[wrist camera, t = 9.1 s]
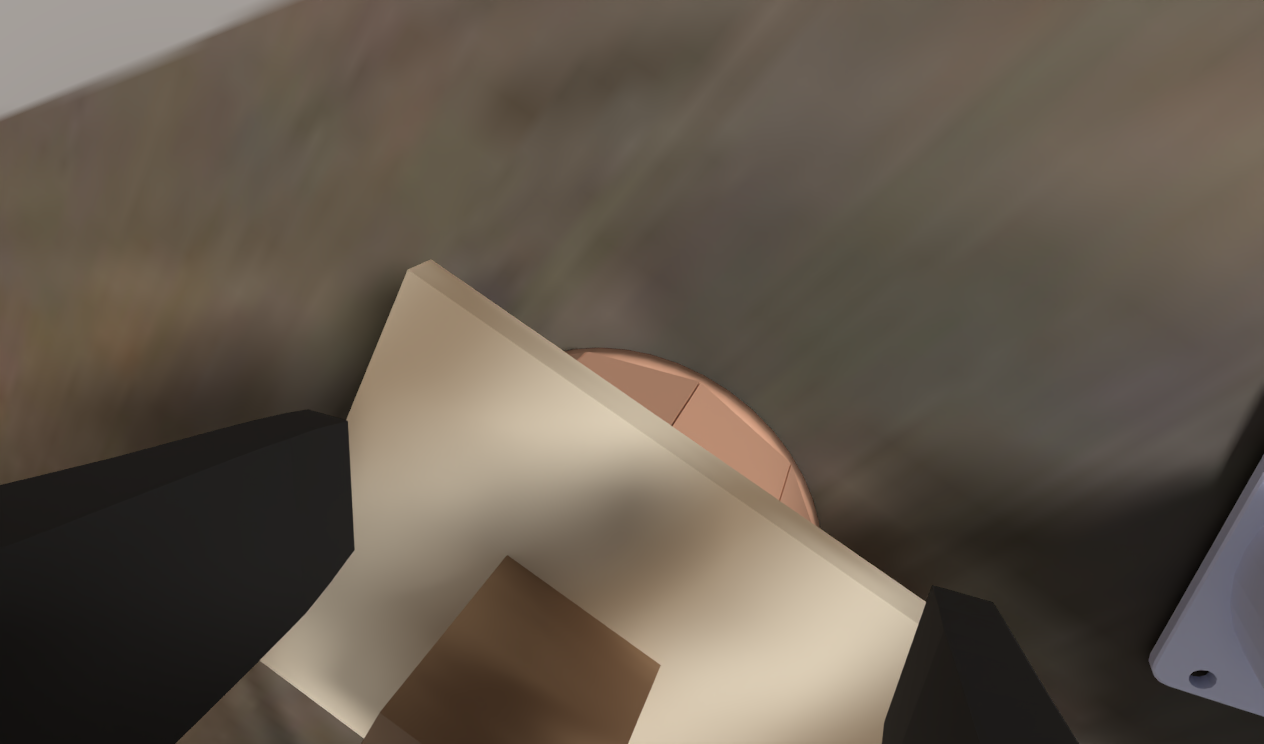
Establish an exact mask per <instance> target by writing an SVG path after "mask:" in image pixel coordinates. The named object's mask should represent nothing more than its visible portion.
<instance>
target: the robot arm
mask: <svg viewBox="0 0 1264 744" xmlns="http://www.w3.org/2000/svg"><path fill="white" fill-rule="evenodd" d="M354 550H355V546H354V527H353V508H352V489H351V469H350V450H349V431H348V421H347V420H343V419H340V418H336V417H332V416H329V415H325V414H322V413H318V412H315V411H311V410H302V411H297V412H291V413H285V414H280V415H276V416H271V417H267V418H263V419H258V420H254V421H250V422H246V423H242V424H238V425H234V426H231V427H227V428H223V429H219V430H215V431H212V432H208V433H204V434H200V435H197V436H193V437H189V438H185V439H182V440H178V441H174V442H171V443H167V444H163V445H159V446H156V447H152V448H148V449H144V450H141V451H137V452H133V453H130V454H126V455H122V456H118V457H115V458H111V459H107V460H103V461H98V462H94V463H90V464H86V465H82V466H78V467H74V468H69V469H65V470H61V471H57V472H53V473H49V474H45V475H41V476H36V477H32V478H28V479H24V480H20V481H16V482H12V483H8V484H3V485H0V744H175V743H176V742H177V741H178V740H179V739H180V738H181V737H182V736H183V735H184V734H185V733H186V732H187V731H188V730H190V729H191V728H192V727H193V726H194V725H195V724H196V723H197V722H198V721H199V720H200V719H201V718H202V717H203V716H204V715H205V714H206V713H207V712H208V711H209V710H210V709H211V708H212V707H213V706H214V705H215V704H216V703H217V702H218V701H219V700H220V699H221V698H222V697H223V696H224V695H225V694H226V693H227V692H228V691H229V690H230V689H231V688H232V687H233V686H234V685H235V684H236V683H237V682H238V681H239V680H240V679H241V678H242V677H243V676H244V675H245V674H246V673H247V672H248V671H249V670H250V669H251V668H252V667H253V666H254V665H255V664H256V663H258V661H259V660H260V659H261V658H262V657H263V656H264V655H265V654H266V653H267V652H268V651H269V650H270V649H271V648H272V647H273V646H274V645H275V644H276V643H277V642H278V641H279V640H280V639H281V638H282V637H283V636H284V635H285V634H286V633H287V632H288V631H289V630H290V629H291V628H292V627H293V626H294V625H295V624H296V623H297V622H298V621H299V620H300V619H301V618H302V617H303V616H304V615H305V614H306V613H307V611H308V610H309V609H310V608H311V606H312V605H313V604H314V603H315V601H316V600H317V599H318V598H319V596H320V595H321V594H322V593H323V591H324V590H325V589H326V588H327V587H328V585H329V584H330V583H331V581H332V580H333V579H334V577H335V576H336V575H337V573H338V572H339V570H340V569H341V568H342V566H343V565H344V564H345V562H346V561H347V560H348V558H349V557H350V556H351V554H352V553H353V552H354ZM1148 661H1149V664H1150V667H1151V669H1152V672H1153V675H1154V677H1155V678H1156V679H1157V680H1158V681H1159V682H1161V683H1163V684H1165V685H1167V686H1169V687H1172V688H1176V689H1179V690H1182V691H1185V692H1188V693H1191V694H1194V695H1197V696H1201V697H1204V698H1207V699H1210V700H1213V701H1216V702H1219V703H1222V704H1226V705H1229V706H1232V707H1235V708H1238V709H1241V710H1244V711H1247V712H1251V713H1254V714H1257V715H1260V716H1263V717H1264V455H1263V457H1262V458H1261V460H1260V462H1259V464H1258V465H1257V467H1256V469H1255V471H1254V472H1253V474H1252V476H1251V478H1250V479H1249V481H1248V483H1247V485H1246V486H1245V488H1244V490H1243V492H1242V493H1241V495H1240V497H1239V499H1238V500H1237V502H1236V504H1235V506H1234V507H1233V509H1232V511H1231V513H1230V514H1229V516H1228V518H1227V520H1226V521H1225V523H1224V525H1223V527H1222V528H1221V530H1220V532H1219V534H1218V536H1217V537H1216V539H1215V541H1214V543H1213V544H1212V546H1211V548H1210V550H1209V551H1208V553H1207V555H1206V557H1205V558H1204V560H1203V562H1202V564H1201V565H1200V567H1199V569H1198V571H1197V572H1196V574H1195V576H1194V578H1193V579H1192V581H1191V583H1190V585H1189V586H1188V588H1187V590H1186V592H1185V593H1184V595H1183V597H1182V599H1181V600H1180V602H1179V604H1178V606H1177V607H1176V609H1175V611H1174V613H1173V614H1172V616H1171V618H1170V620H1169V621H1168V623H1167V625H1166V627H1165V629H1164V630H1163V632H1162V634H1161V636H1160V637H1159V639H1158V641H1157V643H1156V644H1155V646H1154V648H1153V650H1152V651H1151V653H1150V656H1149V660H1148ZM1198 670H1205V671H1209V673H1208V674H1206V675H1204V676H1200V677H1198V676H1192V675H1190V674H1192V673H1193V672H1194V671H1198ZM882 744H1079V743H1078V742H1077V740H1076V738H1075V737H1074V735H1073V734H1072V732H1071V730H1070V729H1069V727H1068V726H1067V724H1066V722H1065V721H1064V719H1063V718H1062V716H1061V714H1060V713H1059V711H1058V709H1057V708H1056V706H1055V704H1054V703H1053V701H1052V699H1051V698H1050V696H1049V695H1048V693H1047V691H1046V690H1045V688H1044V686H1043V685H1042V683H1041V681H1040V680H1039V678H1038V676H1037V675H1036V673H1035V671H1034V670H1033V668H1032V666H1031V665H1030V663H1029V661H1028V660H1027V658H1026V656H1025V654H1024V653H1023V651H1022V649H1021V648H1020V646H1019V644H1018V643H1017V641H1016V639H1015V638H1014V636H1013V634H1012V633H1011V631H1010V629H1009V628H1008V626H1007V624H1006V623H1005V621H1004V619H1003V618H1002V616H1001V614H1000V613H999V611H998V610H997V608H996V606H995V605H994V603H993V602H990V601H987V600H983V599H979V598H976V597H972V596H969V595H965V594H962V593H958V592H955V591H951V590H947V589H944V588H940V587H937V586H933V585H932V587H931V590H930V593H929V596H928V598H927V601H926V604H925V607H924V610H923V613H922V616H921V618H920V621H919V624H918V627H917V630H916V633H915V635H914V638H913V641H912V644H911V647H910V650H909V653H908V655H907V658H906V661H905V664H904V667H903V670H902V673H901V675H900V678H899V681H898V684H897V687H896V690H895V693H894V695H893V698H892V701H891V704H890V707H889V710H888V712H887V715H886V718H885V721H884V727H883V737H882Z"/></svg>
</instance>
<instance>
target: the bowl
mask: <svg viewBox="0 0 1264 744" xmlns="http://www.w3.org/2000/svg"><path fill="white" fill-rule="evenodd" d="M564 352H565V353H567V354H568V355H570V356H571V357H573V358H574V359H576V360H577V361H578V362H580V363H581V364H583V365H584V366H586V367H587V368H589V369H590V370H591V371H593V372H594V373H596V374H597V375H599V376H600V377H602V378H603V379H604V380H606V381H607V382H609V383H610V384H612V385H613V386H615V387H616V388H617V389H619V390H620V391H622V392H623V393H625V394H626V395H628V396H629V397H630V398H632V399H633V400H635V401H636V402H638V403H639V404H641V405H642V406H643V407H645V408H646V409H648V410H649V411H651V412H652V413H654V414H655V415H656V416H658V417H659V418H661V419H662V420H664V421H665V422H667V423H668V424H670V425H671V426H672V427H674V428H675V429H677V430H678V431H680V432H681V433H683V434H684V435H685V436H687V437H688V438H690V439H691V440H693V441H694V442H696V443H697V444H698V445H700V446H701V447H703V448H704V449H706V450H707V451H709V452H710V453H711V454H713V455H714V456H716V457H717V458H719V459H720V460H722V461H723V462H724V463H726V464H727V465H729V466H730V467H732V468H733V469H735V470H736V471H737V472H739V473H740V474H742V475H743V476H745V477H746V478H748V479H749V480H750V481H752V482H753V483H755V484H756V485H758V486H759V487H761V488H762V489H763V490H765V491H766V492H768V493H769V494H771V495H772V496H774V497H775V498H776V499H778V500H779V501H781V502H782V503H784V504H785V505H787V506H788V507H789V508H791V509H792V510H794V511H795V512H797V513H798V514H800V515H801V516H802V517H804V518H805V519H807V520H808V521H810V522H811V523H813V524H814V525H815V526H817V527H818V528H820V525H819V520H818V517H817V513H816V509H815V505H814V501H813V498H812V496H811V493H810V491H809V489H808V486H807V484H806V482H805V479H804V477H803V475H802V473H801V471H800V470H799V468H798V466H797V464H796V463H795V461H794V459H793V458H792V456H791V454H790V452H789V451H788V450H787V448H786V447H785V446H784V445H783V443H782V442H781V441H780V439H779V438H778V437H777V435H776V434H775V433H774V432H773V430H772V429H771V428H770V427H769V426H768V425H767V424H766V423H765V422H764V421H763V420H762V419H761V418H760V417H759V416H758V415H757V414H756V413H755V412H754V411H753V410H752V409H751V408H750V407H748V406H747V405H746V404H745V403H743V402H742V401H741V400H740V399H738V398H737V397H736V396H735V395H733V394H732V393H731V392H730V391H728V390H727V389H725V388H723V387H722V386H720V385H719V384H717V383H715V382H714V381H712V380H711V379H709V378H707V377H706V376H704V375H702V374H700V373H698V372H695V371H693V370H691V369H689V368H687V367H685V366H683V365H681V364H678V363H675V362H672V361H669V360H666V359H663V358H660V357H657V356H654V355H650V354H645V353H640V352H635V351H630V350H625V349H611V348H587V349H573V350H568V351H564Z"/></svg>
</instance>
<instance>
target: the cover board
mask: <svg viewBox="0 0 1264 744" xmlns="http://www.w3.org/2000/svg"><path fill="white" fill-rule="evenodd" d="M346 420H347V421H348V431H349V450H350V469H351V489H352V508H353V527H354V546H355V550H354V552H353V553H352V554H351V556H350V557H349V558H348V560H347V561H346V562H345V564H344V565H343V566H342V568H341V569H340V570H339V572H338V573H337V575H336V576H335V577H334V579H333V580H332V581H331V583H330V584H329V585H328V587H327V588H326V589H325V590H324V591H323V593H322V594H321V595H320V596H319V598H318V599H317V600H316V601H315V603H314V604H313V605H312V606H311V608H310V609H309V610H308V611H307V613H306V614H305V615H304V616H303V617H302V618H301V619H300V620H299V621H298V622H297V623H296V624H295V625H294V626H293V627H292V628H291V629H290V630H289V631H288V632H287V633H286V634H285V635H284V636H283V637H282V638H281V639H280V640H279V641H278V642H277V643H276V644H275V645H274V646H273V647H272V648H271V649H270V650H269V651H268V652H267V653H266V654H265V655H264V656H263V657H262V658H261V659H260V661H261V662H262V663H264V664H265V665H266V666H268V667H269V668H270V669H272V670H273V671H274V672H276V673H277V674H278V675H280V676H281V677H282V678H284V679H285V680H286V681H288V682H289V683H290V684H292V685H293V686H295V687H296V688H297V689H299V690H300V691H301V692H303V693H304V694H305V695H307V696H308V697H309V698H311V699H312V700H313V701H315V702H316V703H317V704H319V705H320V706H321V707H323V708H324V709H325V710H327V711H328V712H329V713H331V714H332V715H333V716H335V717H336V718H337V719H339V720H340V721H341V722H343V723H344V724H345V725H347V726H348V727H349V728H351V729H352V730H353V731H355V732H356V733H357V734H359V735H360V736H361V737H363V738H364V740H363V741H362V743H361V744H882V737H883V727H884V721H885V718H886V715H887V712H888V710H889V707H890V704H891V701H892V698H893V695H894V693H895V690H896V687H897V684H898V681H899V678H900V675H901V673H902V670H903V667H904V664H905V661H906V658H907V655H908V653H909V650H910V647H911V644H912V641H913V638H914V635H915V633H916V630H917V627H918V624H919V621H920V618H921V616H922V613H923V610H924V607H925V604H926V602H925V601H924V600H922V599H921V598H919V597H918V596H917V595H915V594H914V593H912V592H911V591H909V590H908V589H906V588H905V587H904V586H902V585H901V584H899V583H898V582H896V581H895V580H893V579H892V578H891V577H889V576H888V575H886V574H885V573H883V572H882V571H880V570H879V569H878V568H876V567H875V566H873V565H872V564H870V563H869V562H867V561H866V560H865V559H863V558H862V557H860V556H859V555H857V554H856V553H854V552H853V551H852V550H850V549H849V548H847V547H846V546H844V545H843V544H841V543H840V542H839V541H837V540H836V539H834V538H833V537H831V536H830V535H828V534H827V533H826V532H824V531H823V530H821V529H820V528H818V527H817V526H815V525H814V524H813V523H811V522H810V521H808V520H807V519H805V518H804V517H802V516H801V515H800V514H798V513H797V512H795V511H794V510H792V509H791V508H789V507H788V506H787V505H785V504H784V503H782V502H781V501H779V500H778V499H776V498H775V497H774V496H772V495H771V494H769V493H768V492H766V491H765V490H763V489H762V488H761V487H759V486H758V485H756V484H755V483H753V482H752V481H750V480H749V479H748V478H746V477H745V476H743V475H742V474H740V473H739V472H737V471H736V470H735V469H733V468H732V467H730V466H729V465H727V464H726V463H724V462H723V461H722V460H720V459H719V458H717V457H716V456H714V455H713V454H711V453H710V452H709V451H707V450H706V449H704V448H703V447H701V446H700V445H698V444H697V443H696V442H694V441H693V440H691V439H690V438H688V437H687V436H685V435H684V434H683V433H681V432H680V431H678V430H677V429H675V428H674V427H672V426H671V425H670V424H668V423H667V422H665V421H664V420H662V419H661V418H659V417H658V416H656V415H655V414H654V413H652V412H651V411H649V410H648V409H646V408H645V407H643V406H642V405H641V404H639V403H638V402H636V401H635V400H633V399H632V398H630V397H629V396H628V395H626V394H625V393H623V392H622V391H620V390H619V389H617V388H616V387H615V386H613V385H612V384H610V383H609V382H607V381H606V380H604V379H603V378H602V377H600V376H599V375H597V374H596V373H594V372H593V371H591V370H590V369H589V368H587V367H586V366H584V365H583V364H581V363H580V362H578V361H577V360H576V359H574V358H573V357H571V356H570V355H568V354H567V353H565V352H564V351H563V350H561V349H560V348H558V347H557V346H555V345H554V344H552V343H551V342H550V341H548V340H547V339H545V338H544V337H542V336H541V335H539V334H538V333H537V332H535V331H534V330H532V329H531V328H529V327H528V326H526V325H525V324H524V323H522V322H521V321H519V320H518V319H516V318H515V317H513V316H512V315H511V314H509V313H508V312H506V311H505V310H503V309H502V308H500V307H499V306H498V305H496V304H495V303H493V302H492V301H490V300H489V299H487V298H486V297H485V296H483V295H482V294H480V293H479V292H477V291H476V290H474V289H473V288H472V287H470V286H469V285H467V284H466V283H464V282H463V281H461V280H460V279H459V278H457V277H456V276H454V275H453V274H451V273H450V272H448V271H447V270H446V269H444V268H443V267H441V266H440V265H438V264H437V263H435V262H434V261H433V260H429V261H426V262H424V263H422V264H419V265H417V266H415V267H413V268H410V269H408V270H407V273H406V275H405V278H404V280H403V283H402V285H401V287H400V290H399V292H398V295H397V297H396V300H395V302H394V305H393V307H392V309H391V312H390V314H389V317H388V319H387V322H386V324H385V327H384V329H383V331H382V334H381V336H380V339H379V341H378V344H377V346H376V348H375V351H374V353H373V356H372V358H371V361H370V363H369V366H368V368H367V370H366V373H365V375H364V378H363V380H362V383H361V385H360V387H359V390H358V392H357V395H356V397H355V400H354V402H353V405H352V407H351V409H350V412H349V414H348V417H347V419H346Z"/></svg>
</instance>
